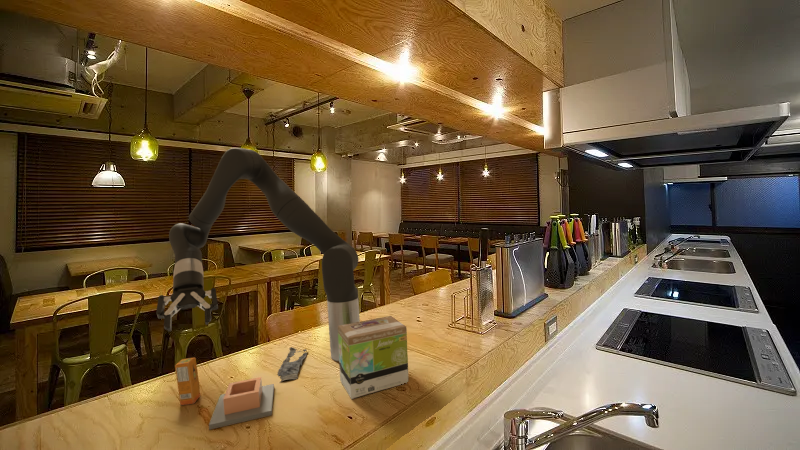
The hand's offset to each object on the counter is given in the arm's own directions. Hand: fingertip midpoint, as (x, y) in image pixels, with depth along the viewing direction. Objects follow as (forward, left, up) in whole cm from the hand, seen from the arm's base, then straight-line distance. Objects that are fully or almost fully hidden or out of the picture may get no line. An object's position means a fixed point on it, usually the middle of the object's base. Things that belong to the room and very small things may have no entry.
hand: (188, 326), depth 88 cm
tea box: (-45, +21, -15) cm, 52 cm away
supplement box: (-2, +11, -15) cm, 19 cm away
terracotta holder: (-15, +19, -14) cm, 28 cm away
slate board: (-15, +19, -15) cm, 29 cm away
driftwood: (-26, +2, -16) cm, 30 cm away
